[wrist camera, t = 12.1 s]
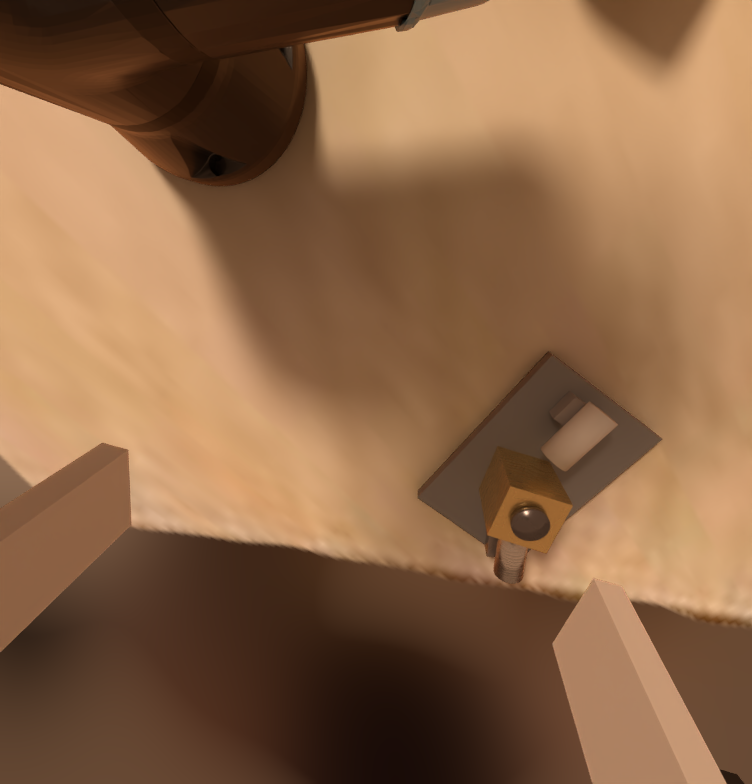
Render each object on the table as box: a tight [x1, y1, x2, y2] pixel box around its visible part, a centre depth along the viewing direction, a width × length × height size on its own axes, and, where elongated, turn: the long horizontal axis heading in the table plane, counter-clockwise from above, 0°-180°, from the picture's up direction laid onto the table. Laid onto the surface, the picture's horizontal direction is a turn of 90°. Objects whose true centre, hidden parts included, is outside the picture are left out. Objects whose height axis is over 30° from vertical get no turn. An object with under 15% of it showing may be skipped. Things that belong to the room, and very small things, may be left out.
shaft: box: [485, 533, 528, 583], centre depth 36 cm, size 5×4×4 cm
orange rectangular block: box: [479, 446, 573, 553], centre depth 33 cm, size 5×5×7 cm
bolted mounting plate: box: [418, 352, 662, 552], centre depth 34 cm, size 18×12×5 cm, turn 145°
